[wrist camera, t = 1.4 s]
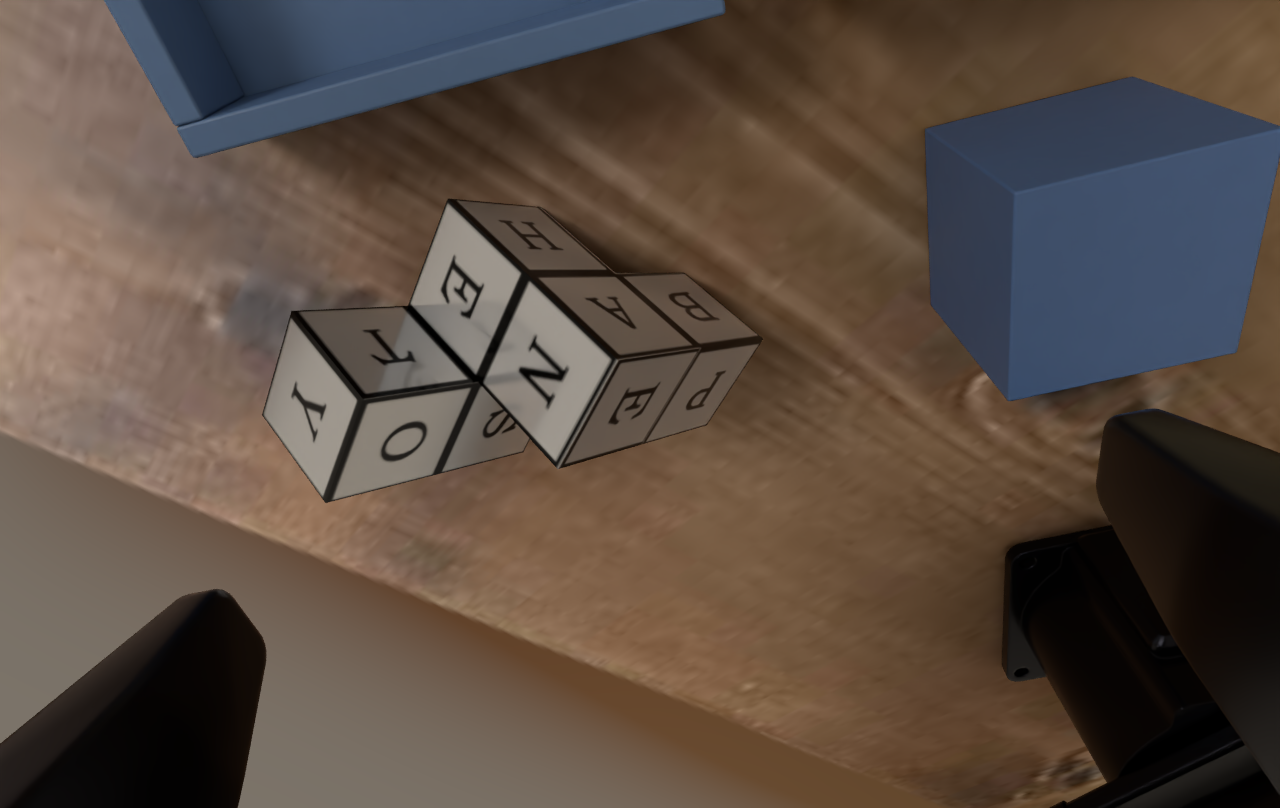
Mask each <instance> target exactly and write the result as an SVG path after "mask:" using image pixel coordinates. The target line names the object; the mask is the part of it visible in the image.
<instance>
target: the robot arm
mask: <svg viewBox="0 0 1280 808" xmlns="http://www.w3.org/2000/svg"><path fill="white" fill-rule="evenodd" d="M1096 487H1097V494H1098V498H1099V501H1100V504H1101V506H1102V508H1103V510H1104V512H1105V514H1106V516H1107V517H1108V519H1109V521H1110V523H1111V526H1106V527H1100V528H1095V529H1090V530H1085V531H1080V532H1075V533H1070V534H1065V535H1060V536H1055V537H1050V538H1044V539H1039V540H1034V541H1029V542H1024V543H1020V544H1017V545H1015V546H1013V547H1012V548H1010V550H1009V551H1008V552H1007V554H1006V557H1005V585H1004V616H1003V647H1002V667H1003V670H1004V672H1005V674H1006V676H1007V678H1008V679H1009V680H1011V681H1015V682H1016V681H1025V680H1030V679H1036V678H1042V677H1047V678H1048V680H1049V682H1050V684H1051V686H1052V687H1053V689H1054V691H1055V693H1056V694H1057V696H1058V698H1059V700H1060V701H1061V703H1062V705H1063V707H1064V708H1065V710H1066V712H1067V714H1068V715H1069V717H1070V719H1071V721H1072V722H1073V724H1074V726H1075V728H1076V729H1077V731H1078V733H1079V735H1080V736H1081V738H1082V740H1083V742H1084V743H1085V745H1086V747H1087V749H1088V750H1089V752H1090V754H1091V756H1092V758H1093V759H1094V761H1095V763H1096V765H1097V766H1098V768H1099V770H1100V772H1101V773H1102V775H1103V777H1104V779H1105V780H1106V782H1107V783H1106V784H1104V785H1102V786H1100V787H1098V788H1096V789H1094V790H1092V791H1090V792H1088V793H1086V794H1084V795H1082V796H1080V797H1078V798H1076V799H1074V800H1072V801H1070V802H1068V803H1067V802H1065V801H1062V802H1060V803H1058V804H1056V805H1054V806H1052V807H1050V808H1280V453H1278V452H1276V451H1273V450H1270V449H1267V448H1265V447H1262V446H1259V445H1256V444H1254V443H1251V442H1248V441H1245V440H1243V439H1240V438H1237V437H1235V436H1232V435H1229V434H1226V433H1224V432H1221V431H1218V430H1215V429H1213V428H1210V427H1207V426H1204V425H1202V424H1199V423H1196V422H1194V421H1191V420H1188V419H1185V418H1183V417H1180V416H1177V415H1174V414H1172V413H1169V412H1166V411H1163V410H1160V409H1145V410H1140V411H1135V412H1129V413H1124V414H1119V415H1115V416H1113V417H1111V418H1110V419H1109V420H1108V421H1107V422H1106V424H1105V426H1104V430H1103V436H1102V443H1101V450H1100V458H1099V465H1098V472H1097V479H1096ZM265 665H266V647H265V643H264V640H263V637H262V636H261V634H260V633H259V631H258V630H257V629H256V627H255V626H254V625H253V623H252V622H251V621H250V620H249V618H248V617H247V615H246V614H245V613H244V611H243V610H242V609H241V607H240V606H239V605H238V603H237V602H236V600H235V599H234V598H233V597H232V596H231V595H230V594H229V593H228V592H226V591H224V590H220V589H213V590H208V591H202V592H198V593H192V594H188V595H185V596H182V597H180V598H179V599H177V600H176V601H175V602H173V603H172V604H171V605H170V606H168V607H167V608H166V609H165V610H163V612H161V613H160V614H159V615H157V616H156V617H155V618H154V619H153V620H151V621H150V622H149V623H148V624H146V625H145V626H144V627H143V628H141V629H140V630H139V631H138V632H137V633H135V634H134V635H133V636H132V637H130V638H129V639H128V640H127V641H126V642H124V643H123V644H122V645H121V646H119V647H118V648H117V649H116V650H115V651H113V652H112V653H111V654H110V655H108V656H107V657H106V658H105V659H103V660H102V661H101V662H100V663H99V664H97V665H96V666H95V667H94V668H92V669H91V670H90V671H89V672H88V673H86V674H85V675H84V676H83V677H81V678H80V679H79V680H78V681H76V682H75V683H74V684H73V685H72V686H70V687H69V688H68V689H67V690H65V691H64V692H63V693H62V694H60V695H59V696H58V697H57V698H56V699H54V700H53V701H52V702H51V703H49V704H48V705H47V706H46V707H45V708H43V709H42V710H41V711H40V712H38V713H37V714H36V715H35V716H34V717H32V718H31V719H30V720H29V721H27V722H26V723H25V724H24V725H23V726H21V727H20V728H19V729H18V730H16V731H15V732H14V733H13V734H11V735H10V736H9V737H8V738H7V739H5V740H4V741H3V742H2V743H0V808H238V803H239V800H240V795H241V790H242V786H243V781H244V777H245V771H246V766H247V761H248V755H249V750H250V745H251V739H252V734H253V728H254V723H255V718H256V713H257V707H258V702H259V696H260V691H261V686H262V681H263V675H264V670H265Z"/></svg>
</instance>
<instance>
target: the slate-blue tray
mask: <svg viewBox="0 0 1280 808" xmlns="http://www.w3.org/2000/svg"><path fill="white" fill-rule="evenodd" d="M104 1H105V3H106V5H107V6H108V8H109V10H110V12H111V14H112V15H113V17H114V19H115V21H116V22H117V24H118V26H119V28H120V30H121V31H122V33H123V35H124V37H125V38H126V40H127V42H128V44H129V46H130V47H131V49H132V51H133V53H134V54H135V56H136V58H137V60H138V62H139V63H140V65H141V67H142V69H143V70H144V72H145V74H146V76H147V78H148V79H149V81H150V83H151V85H152V87H153V88H154V90H155V92H156V94H157V95H158V97H159V99H160V101H161V103H162V104H163V106H164V108H165V110H166V111H167V113H168V115H169V117H170V119H171V120H172V122H173V124H174V125H175V126H179V127H178V128H177V130H178V132H179V134H180V136H181V138H182V140H183V141H184V143H185V145H186V147H187V148H188V150H189V152H190V154H191V155H192V156H193V157H195V158H198V157H202V156H206V155H209V154H213V153H217V152H220V151H224V150H228V149H231V148H235V147H239V146H243V145H246V144H250V143H254V142H257V141H261V140H265V139H268V138H272V137H276V136H279V135H283V134H287V133H290V132H294V131H298V130H301V129H305V128H309V127H312V126H316V125H320V124H323V123H327V122H331V121H334V120H338V119H342V118H345V117H349V116H353V115H356V114H360V113H364V112H367V111H371V110H375V109H378V108H382V107H386V106H390V105H393V104H397V103H401V102H404V101H408V100H412V99H415V98H419V97H423V96H426V95H430V94H434V93H437V92H441V91H445V90H448V89H452V88H456V87H459V86H463V85H467V84H470V83H474V82H478V81H481V80H485V79H489V78H492V77H496V76H500V75H503V74H507V73H511V72H514V71H518V70H522V69H526V68H529V67H533V66H537V65H540V64H544V63H548V62H551V61H555V60H559V59H562V58H566V57H570V56H573V55H577V54H581V53H584V52H588V51H592V50H595V49H599V48H603V47H606V46H610V45H614V44H617V43H621V42H625V41H628V40H632V39H636V38H639V37H643V36H647V35H650V34H654V33H658V32H661V31H665V30H669V29H673V28H676V27H680V26H684V25H687V24H691V23H695V22H698V21H702V20H706V19H709V18H713V17H717V16H720V15H723V14H724V13H725V10H726V9H725V2H724V0H104Z"/></svg>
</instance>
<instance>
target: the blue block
mask: <svg viewBox="0 0 1280 808" xmlns="http://www.w3.org/2000/svg"><path fill="white" fill-rule="evenodd" d="M925 148H926V177H927V206H928V235H929V264H930V294H931V306H932V307H933V308H934V310H935V311H936V312H937V313H938V314H939V316H940V317H941V318H942V319H943V321H944V322H945V323H946V324H947V326H948V327H949V328H950V329H951V331H952V332H953V333H954V334H955V336H956V337H957V338H958V339H959V341H960V342H961V343H962V344H963V346H964V347H965V348H966V349H967V350H968V352H969V353H970V354H971V355H972V357H973V358H974V359H975V360H976V362H977V363H978V364H979V365H980V367H981V368H982V369H983V370H984V372H985V373H986V374H987V375H988V377H989V378H990V379H991V380H992V382H993V383H994V384H995V385H996V386H997V388H998V389H999V390H1000V391H1001V393H1002V394H1003V395H1004V396H1005V398H1006V399H1007V400H1008V401H1013V400H1018V399H1023V398H1027V397H1032V396H1037V395H1041V394H1046V393H1051V392H1055V391H1060V390H1065V389H1069V388H1074V387H1079V386H1083V385H1088V384H1092V383H1097V382H1102V381H1106V380H1111V379H1116V378H1120V377H1125V376H1130V375H1134V374H1139V373H1144V372H1148V371H1153V370H1158V369H1162V368H1167V367H1172V366H1176V365H1181V364H1186V363H1190V362H1195V361H1200V360H1204V359H1209V358H1214V357H1218V356H1223V355H1228V354H1232V353H1236V352H1237V349H1238V344H1239V340H1240V335H1241V331H1242V326H1243V322H1244V317H1245V313H1246V308H1247V303H1248V299H1249V294H1250V290H1251V285H1252V281H1253V276H1254V272H1255V267H1256V263H1257V258H1258V254H1259V249H1260V244H1261V240H1262V235H1263V231H1264V226H1265V222H1266V217H1267V213H1268V208H1269V204H1270V199H1271V194H1272V190H1273V185H1274V181H1275V176H1276V172H1277V167H1278V163H1279V158H1280V126H1278V125H1275V124H1272V123H1269V122H1266V121H1263V120H1260V119H1257V118H1254V117H1251V116H1248V115H1245V114H1243V113H1240V112H1237V111H1234V110H1231V109H1228V108H1225V107H1222V106H1219V105H1216V104H1213V103H1210V102H1207V101H1204V100H1201V99H1198V98H1195V97H1192V96H1189V95H1186V94H1183V93H1180V92H1177V91H1174V90H1171V89H1168V88H1165V87H1162V86H1159V85H1156V84H1153V83H1150V82H1147V81H1144V80H1141V79H1138V78H1135V77H1129V78H1125V79H1121V80H1117V81H1113V82H1109V83H1105V84H1101V85H1097V86H1093V87H1089V88H1085V89H1081V90H1077V91H1073V92H1069V93H1065V94H1061V95H1057V96H1053V97H1049V98H1045V99H1041V100H1037V101H1033V102H1029V103H1025V104H1021V105H1017V106H1013V107H1009V108H1005V109H1002V110H998V111H994V112H990V113H986V114H982V115H978V116H974V117H970V118H966V119H962V120H958V121H954V122H950V123H946V124H942V125H938V126H934V127H930V128H927V129H925Z"/></svg>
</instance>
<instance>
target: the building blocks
mask: <svg viewBox="0 0 1280 808" xmlns="http://www.w3.org/2000/svg"><path fill="white" fill-rule="evenodd" d="M762 340H763V338H762V337H760V336H759V335H758V334H757V333H756V332H754V331H753V330H752V329H751V328H750V327H748V326H747V325H746V324H745V323H744V322H743V321H741V320H740V319H739V318H738V317H737V316H735V315H734V314H733V313H732V312H731V311H729V310H728V309H727V308H726V307H725V306H723V305H722V304H721V303H720V302H719V301H717V300H716V299H715V298H714V297H713V296H711V295H710V294H709V293H708V292H707V291H705V290H704V289H703V288H702V287H701V286H700V285H698V284H697V283H696V282H695V281H694V280H692V279H691V278H690V277H689V276H688V275H686V274H685V273H615V272H614V271H612V270H611V269H610V268H609V267H608V266H607V265H606V264H605V263H603V262H602V261H601V260H600V259H599V258H598V257H597V256H595V255H594V254H593V253H592V252H591V251H590V250H589V249H588V248H586V247H585V246H584V245H583V244H582V243H581V242H580V241H578V240H577V239H576V238H575V237H574V236H573V235H572V234H571V233H569V232H568V231H567V230H566V229H565V228H564V227H563V226H562V225H560V224H559V223H558V222H557V221H556V220H555V219H554V218H552V217H551V216H550V215H549V214H548V213H547V212H546V211H545V210H543V209H542V208H541V207H535V206H524V205H513V204H502V203H491V202H480V201H469V200H458V199H448V200H447V202H446V205H445V208H444V211H443V213H442V216H441V219H440V221H439V224H438V227H437V229H436V232H435V235H434V238H433V240H432V243H431V246H430V248H429V251H428V254H427V256H426V259H425V262H424V265H423V267H422V270H421V273H420V275H419V278H418V281H417V283H416V286H415V289H414V292H413V294H412V297H411V300H410V302H409V305H408V306H395V307H372V308H349V309H326V310H303V311H291V315H290V318H289V322H288V325H287V329H286V333H285V336H284V340H283V343H282V347H281V350H280V354H279V357H278V361H277V364H276V368H275V371H274V375H273V378H272V382H271V386H270V389H269V393H268V396H267V400H266V403H265V407H264V410H263V414H262V415H263V417H264V418H265V420H266V421H267V422H268V424H269V425H270V426H271V428H272V429H273V431H274V432H275V433H276V435H277V436H278V438H279V439H280V440H281V442H282V443H283V445H284V446H285V447H286V449H287V450H288V451H289V453H290V454H291V456H292V457H293V458H294V460H295V461H296V463H297V464H298V465H299V467H300V468H301V470H302V471H303V472H304V474H305V475H306V476H307V478H308V479H309V481H310V482H311V483H312V485H313V486H314V488H315V489H316V490H317V492H318V493H319V495H320V496H321V497H322V499H323V500H324V501H325V503H327V502H331V501H335V500H339V499H343V498H347V497H351V496H354V495H358V494H362V493H366V492H370V491H374V490H378V489H382V488H386V487H389V486H393V485H397V484H401V483H405V482H409V481H413V480H417V479H421V478H425V477H428V476H432V475H436V474H440V473H444V472H448V471H452V470H456V469H460V468H463V467H467V466H471V465H475V464H479V463H483V462H487V461H491V460H495V459H498V458H502V457H506V456H510V455H514V454H518V453H522V452H524V450H525V448H526V446H527V444H528V442H529V440H530V439H531V440H532V442H533V443H534V444H535V445H536V446H537V447H538V448H539V449H540V450H541V451H542V452H543V453H544V455H545V456H546V457H547V458H548V459H549V460H550V461H551V462H552V463H553V464H554V465H555V467H556V468H557V469H560V468H563V467H567V466H570V465H573V464H577V463H580V462H584V461H587V460H590V459H594V458H597V457H601V456H604V455H607V454H611V453H614V452H617V451H621V450H624V449H628V448H631V447H634V446H638V445H641V444H645V443H648V442H651V441H655V440H658V439H662V438H665V437H668V436H672V435H675V434H678V433H682V432H685V431H689V430H692V429H695V428H699V427H702V426H706V425H707V424H708V422H709V421H710V419H711V418H712V416H713V415H714V413H715V412H716V410H717V409H718V407H719V406H720V404H721V403H722V401H723V400H724V398H725V397H726V395H727V394H728V392H729V390H730V389H731V387H732V386H733V384H734V383H735V381H736V380H737V378H738V377H739V375H740V374H741V372H742V371H743V369H744V368H745V366H746V365H747V363H748V362H749V360H750V358H751V357H752V355H753V354H754V352H755V351H756V349H757V348H758V346H759V345H760V343H761V342H762Z"/></svg>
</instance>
